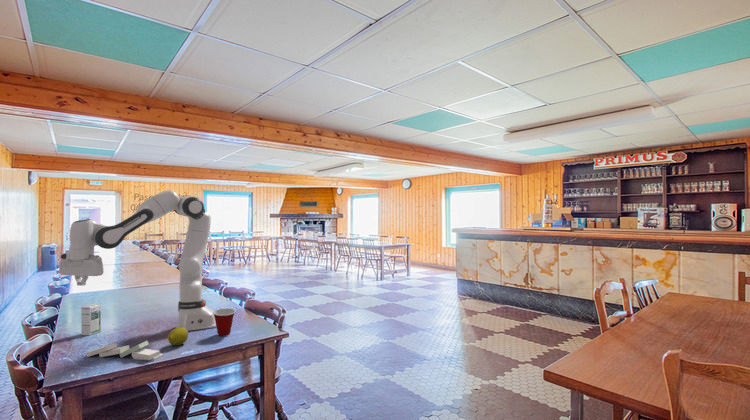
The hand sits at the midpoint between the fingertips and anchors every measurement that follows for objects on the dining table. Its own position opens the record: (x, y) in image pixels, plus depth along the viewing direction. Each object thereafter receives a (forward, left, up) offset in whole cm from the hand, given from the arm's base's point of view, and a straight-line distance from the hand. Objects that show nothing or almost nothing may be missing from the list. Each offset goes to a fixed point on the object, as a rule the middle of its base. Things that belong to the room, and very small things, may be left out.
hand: (81, 285), depth 165 cm
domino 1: (-8, +8, -28) cm, 31 cm away
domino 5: (-29, +17, -29) cm, 44 cm away
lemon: (-41, +5, -29) cm, 51 cm away
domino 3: (-22, +13, -28) cm, 38 cm away
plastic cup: (-60, -6, -29) cm, 67 cm away
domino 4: (-28, +16, -27) cm, 42 cm away
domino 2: (-13, +10, -28) cm, 33 cm away
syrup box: (+7, -26, -29) cm, 40 cm away
